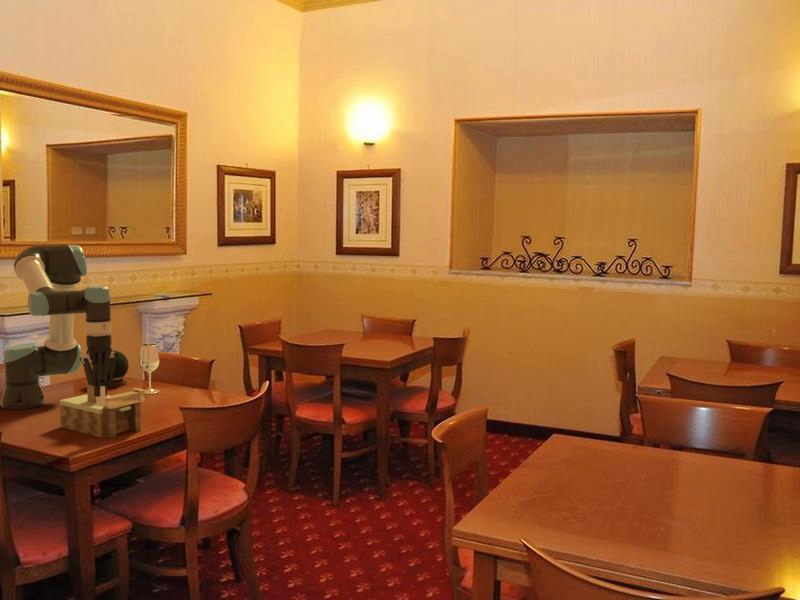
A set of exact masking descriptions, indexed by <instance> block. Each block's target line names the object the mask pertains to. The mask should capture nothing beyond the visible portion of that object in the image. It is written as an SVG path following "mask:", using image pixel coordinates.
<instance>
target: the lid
mask: <svg viewBox="0 0 800 600" xmlns="http://www.w3.org/2000/svg"><path fill="white" fill-rule="evenodd" d="M86 387H87V391H86V392H87V393H85V394H82V395H78V396H73V397H69V398H68V397H67V398H64V399H59V406H60V405H64V406H68V407H73V408H77V409H81V410H85V411H90V412H94V413H98V414H102V413H103V406H102V407H101V406H97V405H96V396H95V395H94V386H91V385H88V382H87V381H86ZM109 396H110V395H108V394H107V395H105V397H109ZM129 409H131V406H128V405H126V406H122V407H118V408H115V410H116V411H125V410H129Z"/></svg>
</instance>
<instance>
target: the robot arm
mask: <svg viewBox="0 0 800 600" xmlns="http://www.w3.org/2000/svg"><path fill="white" fill-rule="evenodd" d="M86 260H87V259H86V256H85V252H84V250H83V248H82V247H81V246H80V245H77V244H46V245H45V244H38V245H37V244H36V245H35V244H34V245H32V246H29V247H27V248H25V249H23V250H22V251H20V253H19V254H18V255H17V256H16V257H15V260H14V264H13V268H14V272H15V274H16V276H17V277H18V278H19V279H20V280H21V281H22V282H23V283H24V285H25V286H26V289H27V290H28V293H29V294H28V297H27V307H28V312H29V314H30V315H31V316H37V317H38V316H41V317H45V316H49V327H48V329H49V330H48V331H49V332H48V337H47V338H46V339H45V340H44V343H43V345H41V346H40V345H39V344H37V343H35V342H29V343H27V342H26V343H20V344H16V345H12V346H9V347H8V348H6V349H5V350H4V352H3V363H4V365H3V366H4V367H3V368H4V390H3V392H2V395H1V398H0V407H1V408H2V409H3V410H17V411H18V410H26V409H33V408H38V407H41V406H43V405H45V402H46V401H45V399H46V398H45V395H44V393H43V390H42V388H41V386H40V377H47V376H57V375H68V374H74V373H77V371H78V370H79V368H80V366H81V364H82V366H83V371H84V374H85V377H86V378H85V379H86V383H87V382H88V385H91V386H94V395H95V396H96V405H97V406H101V407H102V406H106V402H105V395H108V388H107V386H108V385H109V384H108V383H111V382H112V380H113V374H114V368H115V363H116V359H117V357H118V353H114V352H113V351H112V347H111V346H112V335H111V332H112V320H111V319H112V317H111V316H112V315H111V311H112V310H111V298H112V296H111V292H110V288H109V286H105V285H92V286H87V287H85V288H84V289H81V290H77V285H79V284H80V283H81V281H82V280H81V279H82V277H84V276H87V271H88V266H87V261H86ZM75 314H85V333H86V336H85V337H86V339H85V340H86V342H85V343H86V347H87V350H86V354H85V355H84V356H83V357H82V347H81V345H80V344H79V343H78V341H77V340H76V339H75V338H74V329H75V326H74V325H75ZM108 358H109V359H108Z"/></svg>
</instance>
